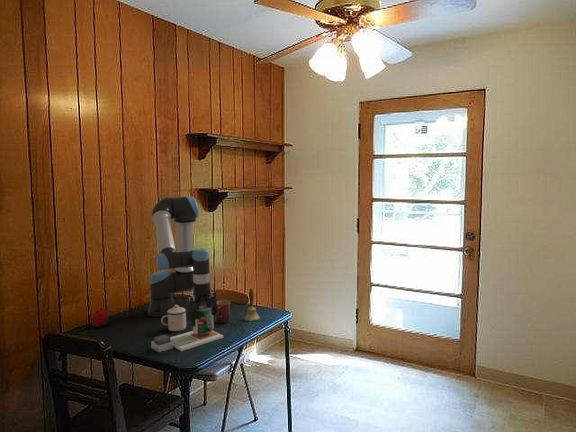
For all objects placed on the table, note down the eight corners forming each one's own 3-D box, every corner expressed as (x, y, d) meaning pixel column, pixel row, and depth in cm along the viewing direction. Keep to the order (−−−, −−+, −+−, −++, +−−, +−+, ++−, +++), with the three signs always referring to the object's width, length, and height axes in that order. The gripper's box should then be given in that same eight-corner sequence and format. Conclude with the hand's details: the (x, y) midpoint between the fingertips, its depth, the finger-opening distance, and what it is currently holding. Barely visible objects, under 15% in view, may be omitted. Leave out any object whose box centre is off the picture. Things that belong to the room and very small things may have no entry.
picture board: (163, 341, 188) (163, 339, 188) (204, 329, 202) (204, 327, 202) (181, 351, 176) (181, 348, 176) (223, 337, 191) (223, 335, 191)
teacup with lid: (185, 324, 211) (184, 301, 210) (188, 329, 203) (187, 306, 202) (160, 327, 206) (159, 305, 205) (163, 333, 198) (161, 309, 197)
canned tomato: (213, 327, 197) (212, 305, 196) (210, 333, 189) (209, 310, 188) (196, 328, 196) (195, 305, 196) (193, 334, 189) (192, 310, 188)
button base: (151, 348, 180) (151, 341, 180) (166, 343, 185) (166, 337, 185) (158, 352, 175) (158, 345, 175) (174, 348, 180) (173, 341, 179)
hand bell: (244, 316, 221) (243, 287, 220) (259, 315, 222) (258, 286, 220) (243, 321, 213) (242, 291, 211) (259, 320, 213) (259, 290, 212)
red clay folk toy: (101, 323, 216) (99, 294, 215) (112, 324, 214) (110, 295, 213) (90, 327, 209) (88, 298, 208) (101, 329, 207) (99, 299, 206)
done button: (154, 344, 180) (154, 337, 180) (165, 341, 183) (164, 334, 183) (159, 347, 176) (159, 340, 176) (170, 344, 180) (170, 337, 179)
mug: (217, 318, 218) (216, 299, 217) (233, 319, 216) (232, 300, 215) (208, 326, 206) (208, 306, 206) (225, 327, 205) (224, 307, 204)
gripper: (185, 287, 181) (187, 338, 183) (225, 279, 195) (226, 326, 197) (177, 285, 187) (179, 334, 188) (216, 277, 201) (217, 323, 202)
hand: (203, 330), depth 193 cm, fingers closed on canned tomato, 8 cm apart
